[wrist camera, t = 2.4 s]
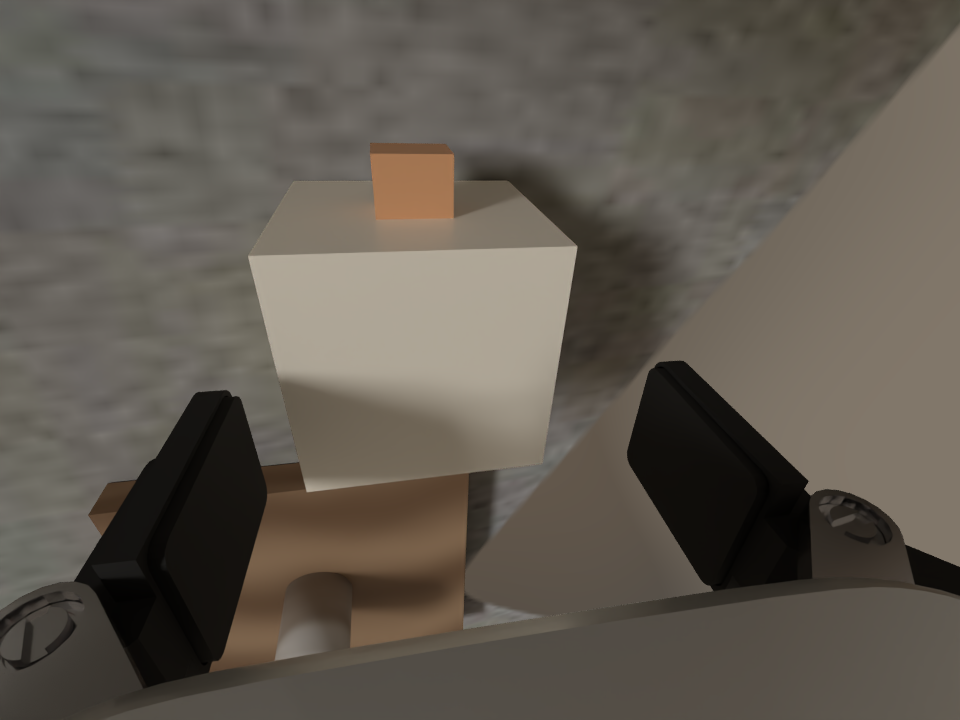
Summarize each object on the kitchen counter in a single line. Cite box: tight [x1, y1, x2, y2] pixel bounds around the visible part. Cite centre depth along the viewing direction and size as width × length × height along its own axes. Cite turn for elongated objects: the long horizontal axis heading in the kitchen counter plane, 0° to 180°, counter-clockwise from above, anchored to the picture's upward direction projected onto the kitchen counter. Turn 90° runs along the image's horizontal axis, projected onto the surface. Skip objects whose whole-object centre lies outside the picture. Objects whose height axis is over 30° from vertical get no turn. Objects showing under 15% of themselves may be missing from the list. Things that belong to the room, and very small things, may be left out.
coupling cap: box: [248, 143, 578, 492], centre depth 13 cm, size 9×6×6 cm
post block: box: [88, 463, 469, 673], centre depth 20 cm, size 14×14×6 cm
